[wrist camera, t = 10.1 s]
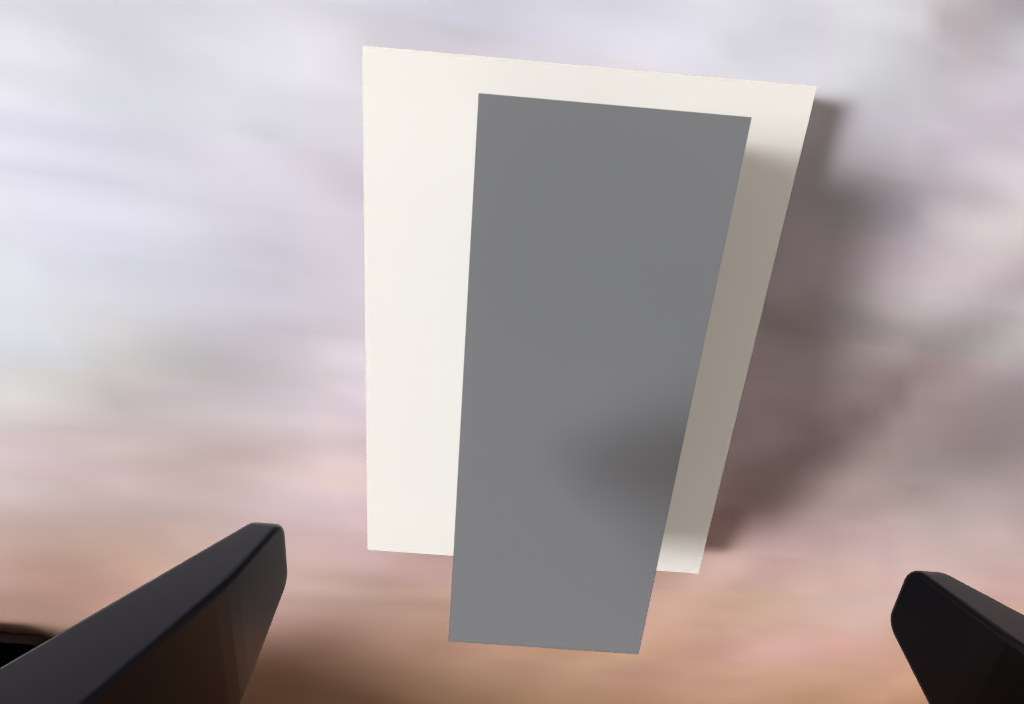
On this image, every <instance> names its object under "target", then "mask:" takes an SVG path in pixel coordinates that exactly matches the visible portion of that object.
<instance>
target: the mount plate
mask: <svg viewBox="0 0 1024 704" xmlns="http://www.w3.org/2000/svg"><path fill="white" fill-rule="evenodd" d="M362 73H363V166H364V259H365V352H366V445H367V538H368V550H380V551H394V552H408V553H422V554H436V555H450V556H453V552H454V534H455V516H456V497H457V479H458V461H459V443H460V424H461V406H462V388H463V369H464V351H465V333H466V314H467V296H468V278H469V260H470V241H471V223H472V205H473V186H474V168H475V150H476V131H477V113H478V95H479V93H483V94H495V95H506V96H517V97H529V98H540V99H551V100H562V101H574V102H585V103H596V104H608V105H619V106H630V107H642V108H653V109H664V110H675V111H687V112H698V113H709V114H721V115H732V116H743V117H752V119H751V123H750V128H749V133H748V138H747V142H746V147H745V152H744V156H743V161H742V166H741V171H740V175H739V180H738V185H737V190H736V194H735V199H734V204H733V209H732V213H731V218H730V223H729V228H728V232H727V237H726V242H725V247H724V251H723V256H722V261H721V265H720V270H719V275H718V280H717V284H716V289H715V294H714V299H713V303H712V308H711V313H710V318H709V322H708V327H707V332H706V337H705V341H704V346H703V351H702V356H701V360H700V365H699V370H698V374H697V379H696V384H695V389H694V393H693V398H692V403H691V408H690V412H689V417H688V422H687V427H686V431H685V436H684V441H683V446H682V450H681V455H680V460H679V465H678V469H677V474H676V479H675V483H674V488H673V493H672V498H671V502H670V507H669V512H668V517H667V521H666V526H665V531H664V536H663V540H662V545H661V550H660V555H659V559H658V564H657V569H656V570H659V571H673V572H686V573H699V569H700V565H701V561H702V557H703V553H704V549H705V544H706V540H707V536H708V532H709V528H710V524H711V520H712V516H713V512H714V507H715V503H716V499H717V495H718V491H719V487H720V483H721V479H722V475H723V471H724V466H725V462H726V458H727V454H728V450H729V446H730V442H731V438H732V434H733V429H734V425H735V421H736V417H737V413H738V409H739V405H740V401H741V397H742V393H743V388H744V384H745V380H746V376H747V372H748V368H749V364H750V360H751V356H752V351H753V347H754V343H755V339H756V335H757V331H758V327H759V323H760V319H761V315H762V310H763V306H764V302H765V298H766V294H767V290H768V286H769V282H770V278H771V273H772V269H773V265H774V261H775V257H776V253H777V249H778V245H779V241H780V237H781V232H782V228H783V224H784V220H785V216H786V212H787V208H788V204H789V200H790V195H791V191H792V187H793V183H794V179H795V175H796V171H797V167H798V163H799V159H800V154H801V150H802V146H803V142H804V138H805V134H806V130H807V126H808V122H809V117H810V113H811V109H812V105H813V101H814V97H815V93H816V89H817V86H808V85H797V84H785V83H774V82H763V81H752V80H741V79H730V78H718V77H707V76H696V75H685V74H674V73H663V72H651V71H640V70H629V69H618V68H607V67H595V66H584V65H573V64H562V63H551V62H540V61H528V60H517V59H506V58H495V57H484V56H472V55H461V54H450V53H439V52H428V51H417V50H405V49H394V48H383V47H372V46H362Z"/></svg>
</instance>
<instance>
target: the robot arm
mask: <svg viewBox="0 0 1024 704" xmlns="http://www.w3.org/2000/svg"><path fill="white" fill-rule="evenodd" d="M286 579H287V562H286V548H285V535H284V530H283V528H282V527H281V526H280V525H279V524H270V523H250V524H248V525H246V526H245V527H243V528H241V529H239V530H238V531H236V532H234V533H233V534H231V535H229V536H227V537H226V538H224V539H222V540H220V541H219V542H217V543H215V544H214V545H212V546H210V547H208V548H207V549H205V550H203V551H201V552H200V553H198V554H196V555H195V556H193V557H191V558H189V559H188V560H186V561H184V562H182V563H181V564H179V565H177V566H176V567H174V568H172V569H170V570H169V571H167V572H165V573H163V574H162V575H160V576H158V577H157V578H155V579H153V580H151V581H150V582H148V583H146V584H144V585H143V586H141V587H139V588H138V589H136V590H134V591H132V592H131V593H129V594H127V595H125V596H124V597H122V598H120V599H119V600H117V601H115V602H113V603H112V604H110V605H108V606H106V607H105V608H103V609H101V610H100V611H98V612H96V613H94V614H93V615H91V616H89V617H87V618H86V619H84V620H82V621H81V622H79V623H77V624H75V625H74V626H72V627H70V628H68V629H67V630H65V631H63V632H62V633H60V634H58V635H56V636H55V637H53V638H51V639H49V640H48V641H47V640H46V639H45V638H43V637H39V636H29V635H15V634H0V704H240V702H241V700H242V697H243V695H244V692H245V690H246V687H247V685H248V683H249V680H250V677H251V675H252V672H253V669H254V667H255V664H256V662H257V659H258V656H259V654H260V651H261V648H262V646H263V643H264V641H265V638H266V635H267V633H268V630H269V627H270V625H271V622H272V620H273V617H274V614H275V612H276V609H277V606H278V604H279V601H280V599H281V596H282V593H283V591H284V588H285V584H286ZM891 626H892V630H893V633H894V635H895V637H896V639H897V641H898V643H899V645H900V647H901V649H902V651H903V653H904V655H905V657H906V659H907V661H908V663H909V665H910V667H911V669H912V671H913V673H914V675H915V677H916V679H917V681H918V683H919V685H920V687H921V689H922V691H923V693H924V694H925V696H926V698H927V700H928V702H929V704H1024V615H1022V614H1020V613H1019V612H1017V611H1015V610H1013V609H1011V608H1009V607H1007V606H1005V605H1004V604H1002V603H1000V602H998V601H996V600H994V599H992V598H990V597H988V596H987V595H985V594H983V593H981V592H979V591H977V590H975V589H973V588H972V587H970V586H968V585H966V584H964V583H962V582H960V581H958V580H956V579H955V578H953V577H951V576H949V575H947V574H944V573H940V572H928V571H913V572H911V573H910V574H908V575H907V576H906V578H905V580H904V583H903V585H902V588H901V590H900V593H899V595H898V598H897V600H896V602H895V605H894V607H893V610H892V613H891Z"/></svg>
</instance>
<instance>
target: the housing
mask: <svg viewBox="0 0 1024 704" xmlns="http://www.w3.org/2000/svg"><path fill="white" fill-rule="evenodd" d="M751 119H752V117H743V116H732V115H721V114H709V113H698V112H687V111H675V110H664V109H653V108H642V107H630V106H619V105H608V104H596V103H585V102H574V101H562V100H551V99H540V98H529V97H517V96H506V95H495V94H483V93H479V95H478V113H477V131H476V150H475V168H474V186H473V205H472V223H471V241H470V260H469V278H468V296H467V314H466V333H465V351H464V369H463V388H462V406H461V424H460V443H459V461H458V479H457V497H456V516H455V534H454V552H453V571H452V589H451V607H450V626H449V641H453V642H468V643H482V644H497V645H511V646H526V647H540V648H555V649H569V650H584V651H598V652H613V653H627V654H639V649H640V645H641V640H642V635H643V630H644V626H645V621H646V616H647V611H648V607H649V602H650V597H651V592H652V588H653V583H654V578H655V574H656V569H657V564H658V559H659V555H660V550H661V545H662V540H663V536H664V531H665V526H666V521H667V517H668V512H669V507H670V502H671V498H672V493H673V488H674V483H675V479H676V474H677V469H678V465H679V460H680V455H681V450H682V446H683V441H684V436H685V431H686V427H687V422H688V417H689V412H690V408H691V403H692V398H693V393H694V389H695V384H696V379H697V374H698V370H699V365H700V360H701V356H702V351H703V346H704V341H705V337H706V332H707V327H708V322H709V318H710V313H711V308H712V303H713V299H714V294H715V289H716V284H717V280H718V275H719V270H720V265H721V261H722V256H723V251H724V247H725V242H726V237H727V232H728V228H729V223H730V218H731V213H732V209H733V204H734V199H735V194H736V190H737V185H738V180H739V175H740V171H741V166H742V161H743V156H744V152H745V147H746V142H747V138H748V133H749V128H750V123H751Z"/></svg>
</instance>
